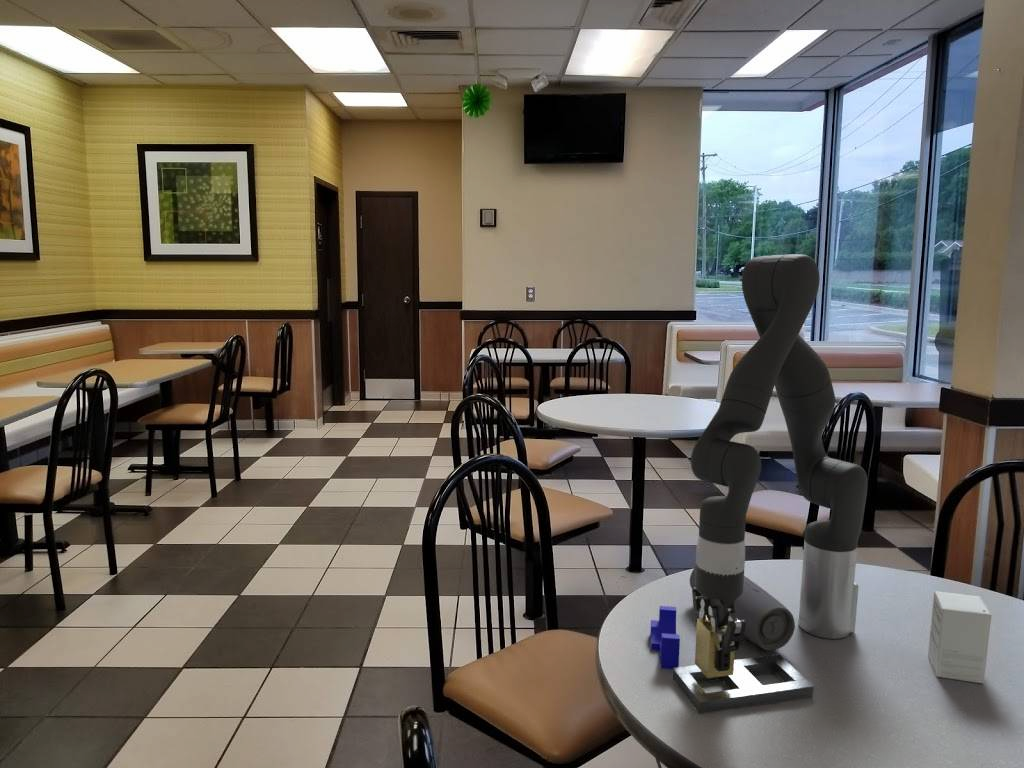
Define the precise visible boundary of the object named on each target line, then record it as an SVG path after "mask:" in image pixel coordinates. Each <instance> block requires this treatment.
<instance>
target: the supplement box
mask: <svg viewBox="0 0 1024 768" xmlns="http://www.w3.org/2000/svg"><path fill="white" fill-rule="evenodd" d="M931 611H932V612H931V622H930V631H929V641H928V650H927V657H928V659H929V661H930V664H931V666H932V669H933V672H934V674H935V676H936V677H938V678H944V679H949V680H950V679H951V680H958V681H964V682H971V683H977V684H984V681H985V677H986V676H985V674H986V666H987V659H988V649H989V640H990V632H991V621H992V614H991V612H990V611H989V609H988V607H987V606H986V604H985V602H984V601H983V600H982V598H981V596H979V595H971V594H970V595H969V594H963V593H955V592H953V593H952V592H945V591H939V590H938V591H937V590H934V592H933V602H932V610H931Z"/></svg>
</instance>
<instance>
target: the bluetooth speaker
mask: <svg viewBox="0 0 1024 768" xmlns="http://www.w3.org/2000/svg"><path fill="white" fill-rule="evenodd" d="M695 567H696V565H695V566H694V568H693V569H692V571H691V574H690V576H689V585H690V588H691V589H692V588H693V587H695ZM735 608H736V617H737V618H738V620H744V621H745V623H746V628H745V632H744V635H743V640H746V641H751V642H752V643H754V644H755V645H756V646H758V647H760V648H762V649H763V650H767V651H774V650H778V649H781V648H783V647H784V646H787V644H788V643H789V642H790V641H791V639H792V637H793V635H794V633H795V630H796V625H795V618H794V615H793V614H792V612H791V611H790V610H789V609H788V608H787V606H785V605H784V604H783V603H782V602H780V601H779V599H777V598H775V597H774V596H772V594H771V593H769V592H768V591H766V590H765V589H764V588H762V587H761V586H760V585H758V584H757V583H755V582H754V581H752V580H751V579H750V578H748V577H747V576H745V575H744V584H743V593H742V594H741V595H740V596H739V597H738V598H737V599H736V600H735Z"/></svg>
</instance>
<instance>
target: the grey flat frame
mask: <svg viewBox="0 0 1024 768" xmlns="http://www.w3.org/2000/svg"><path fill="white" fill-rule="evenodd" d="M772 673H773V674H776V676H777V677H778V678H779V679H780V680H782V681H783V682H779V683H778V682H777V683H771V684H770V683H769V684H765V685H764V684H762V683H761V682H760V681H759V680H758V679H757V678H756V677H755V676H758V675H765V674H772ZM671 679H672V680H673V681H674V683H675V684H676V685H677V687H678V688H679V689H680V691H681V692H682V693H683V695H684V696H685V698H686V699H687V700H688V701H689V703H691V704H692V706H693V707H694V709H695V710H696V711H697V713H698V714H701V715H702V714H706V713H714V712H720V711H729V710H735V709H742V708H749V707H754V706H755V707H756V706H762V705H769V704H771V705H772V704H777V703H784V702H790V701H798V700H804V699H812V698H814V689H815V686H814V685H813V684H812V682H810V681H809V680H808V679H807V678H806V677H805V676H803V675H802V674H801V673H800V672H799V671H798V670H797V669H796V668H795V667H794V666H792V665H791V664H790V663H789V661H787V660H786V659H785V658H784V657H783V656H782V655H780V654H772V655H771V654H770V655H764V656H763V655H762V656H757V657H748V658H742V659H741V658H740V659H734V670H733V675H728V676H721V677H713V678H707V677H706V676H705V675H704V673H703V672H702V671H701V670H700V669H699V668H698V666H697V665H696V664H694V665H686V666H679V667H677V668H673V670H672V678H671ZM720 680H721V681H722V682H723V684H725V685H726V687H727V688H728V689H727V690H726V689H725V690H721V691H720V690H719V691H714V692H713V691H712V692H705V690H704V689H703V688H702V687H701V685H700V684H699V683H706V682H712V681H720Z"/></svg>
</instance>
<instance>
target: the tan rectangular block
mask: <svg viewBox="0 0 1024 768" xmlns="http://www.w3.org/2000/svg"><path fill="white" fill-rule="evenodd" d="M718 629H719V630H720V629H726V627H725V626H723V627H718ZM724 636H725V635H722V642H723V640H724ZM733 643H734V642H733ZM716 648H717V647H716V635H714V631H713V630H712V626H711V621H710V620H708V619H707V618H706V619H704V620H702V619H701V618H697V624H696V634H695V651H694V652H695V653H694V654H695V657H694V665H697V666H698V668H699V669H700V670H701V671H702V672H703V673H704V675H705V676H706V677H707V678H713V677H721V676H728V675H733V670H734V660H735V652H736V651H735V652H731V655H730V668H729V670H727V671H720V672H719V671H717V670H716V668H715V662H716Z"/></svg>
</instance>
